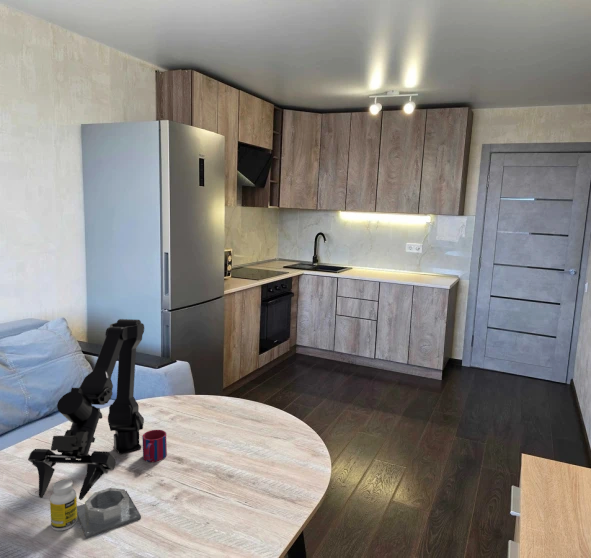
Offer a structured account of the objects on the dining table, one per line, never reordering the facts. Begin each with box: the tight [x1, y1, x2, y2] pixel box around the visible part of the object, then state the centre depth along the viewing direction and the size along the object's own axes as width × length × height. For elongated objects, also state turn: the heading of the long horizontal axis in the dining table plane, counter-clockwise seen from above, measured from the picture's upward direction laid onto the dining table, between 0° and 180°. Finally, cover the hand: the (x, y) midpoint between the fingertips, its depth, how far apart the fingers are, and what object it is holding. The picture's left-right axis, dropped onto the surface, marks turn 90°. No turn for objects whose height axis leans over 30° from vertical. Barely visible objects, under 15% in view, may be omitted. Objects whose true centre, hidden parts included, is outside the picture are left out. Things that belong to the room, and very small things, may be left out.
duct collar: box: [77, 487, 142, 539], centre depth 110 cm, size 12×12×4 cm
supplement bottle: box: [49, 478, 78, 531], centre depth 106 cm, size 5×5×10 cm
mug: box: [141, 429, 168, 463], centre depth 135 cm, size 7×10×7 cm
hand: (60, 498), depth 105 cm, fingers open, 9 cm apart
